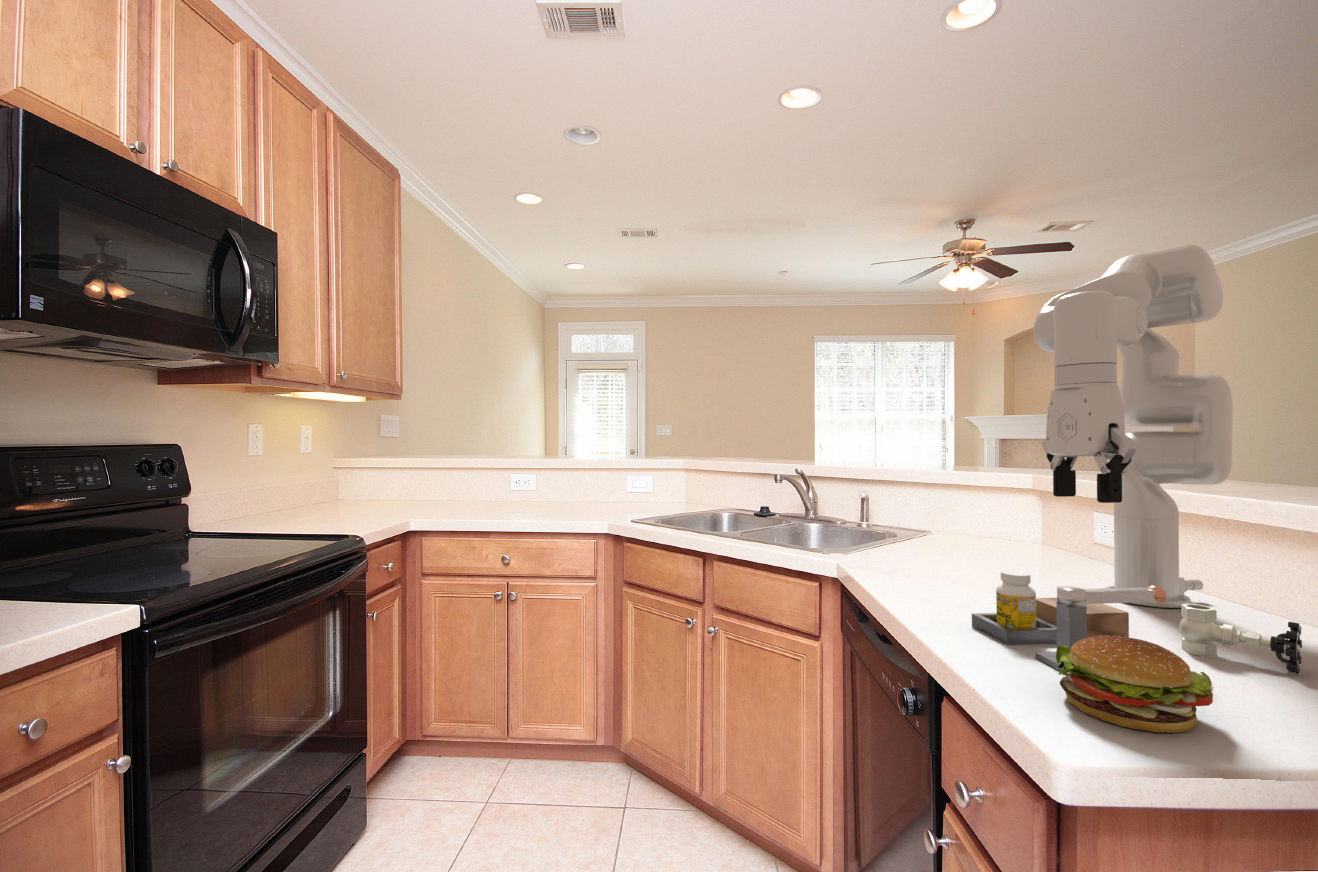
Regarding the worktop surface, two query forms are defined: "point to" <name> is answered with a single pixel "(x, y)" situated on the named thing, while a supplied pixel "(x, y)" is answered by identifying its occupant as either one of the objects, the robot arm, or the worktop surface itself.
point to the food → (1133, 683)
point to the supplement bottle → (1016, 601)
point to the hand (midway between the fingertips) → (1086, 498)
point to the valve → (1233, 636)
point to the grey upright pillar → (1066, 631)
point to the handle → (1109, 595)
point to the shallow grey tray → (1015, 630)
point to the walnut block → (1090, 618)
